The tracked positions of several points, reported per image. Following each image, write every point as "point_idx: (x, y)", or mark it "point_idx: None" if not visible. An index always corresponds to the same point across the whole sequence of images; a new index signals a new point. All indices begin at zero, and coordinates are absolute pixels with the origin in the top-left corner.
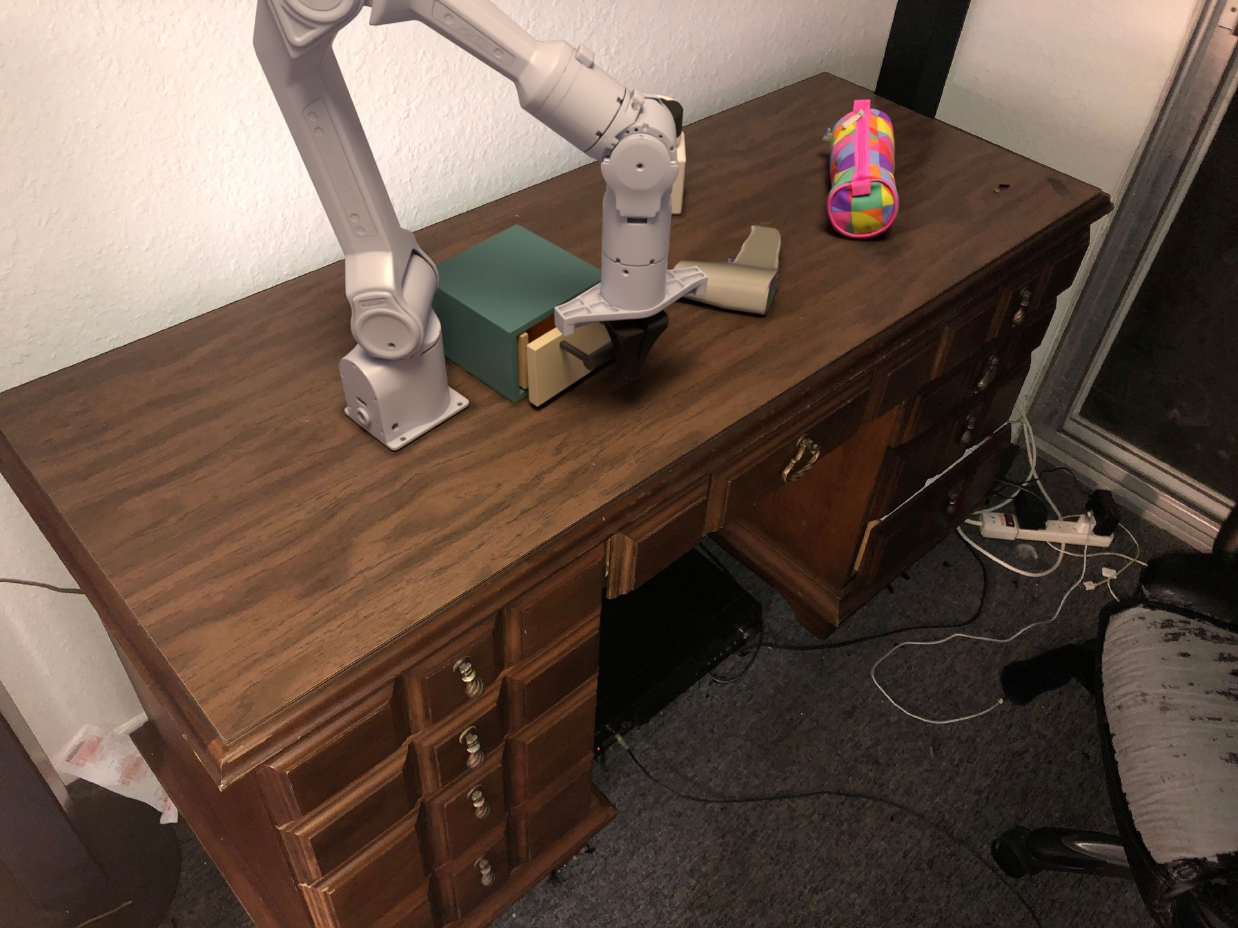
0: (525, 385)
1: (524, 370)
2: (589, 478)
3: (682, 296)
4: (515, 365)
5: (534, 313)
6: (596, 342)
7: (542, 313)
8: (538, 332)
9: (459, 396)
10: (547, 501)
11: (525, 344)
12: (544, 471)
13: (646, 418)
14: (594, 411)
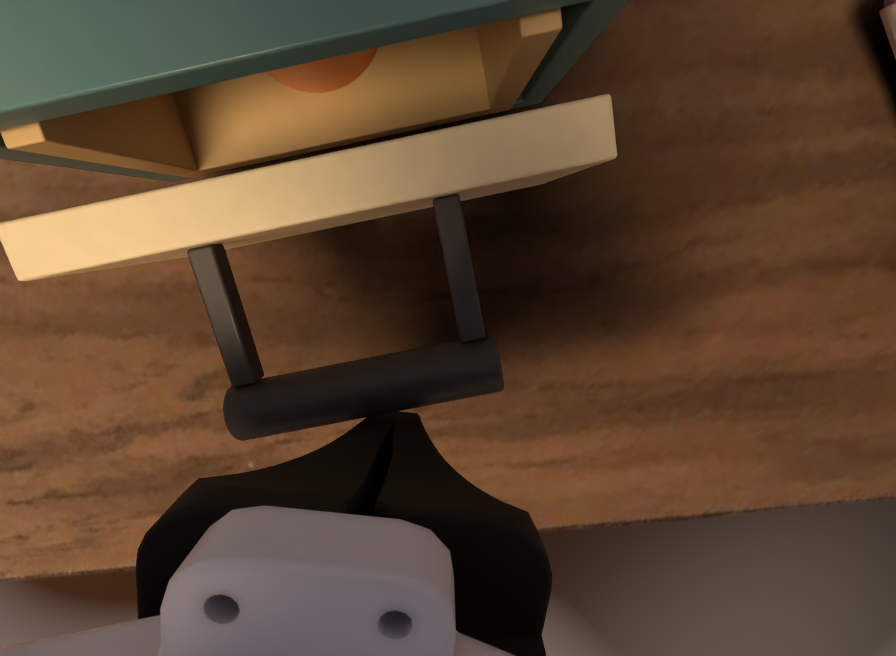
0: (183, 176)
1: (144, 170)
2: None
3: (894, 54)
4: (82, 164)
5: (63, 56)
6: (422, 205)
7: (105, 86)
8: None
9: None
10: (110, 497)
11: (67, 153)
12: (140, 426)
13: (438, 413)
14: (344, 325)
